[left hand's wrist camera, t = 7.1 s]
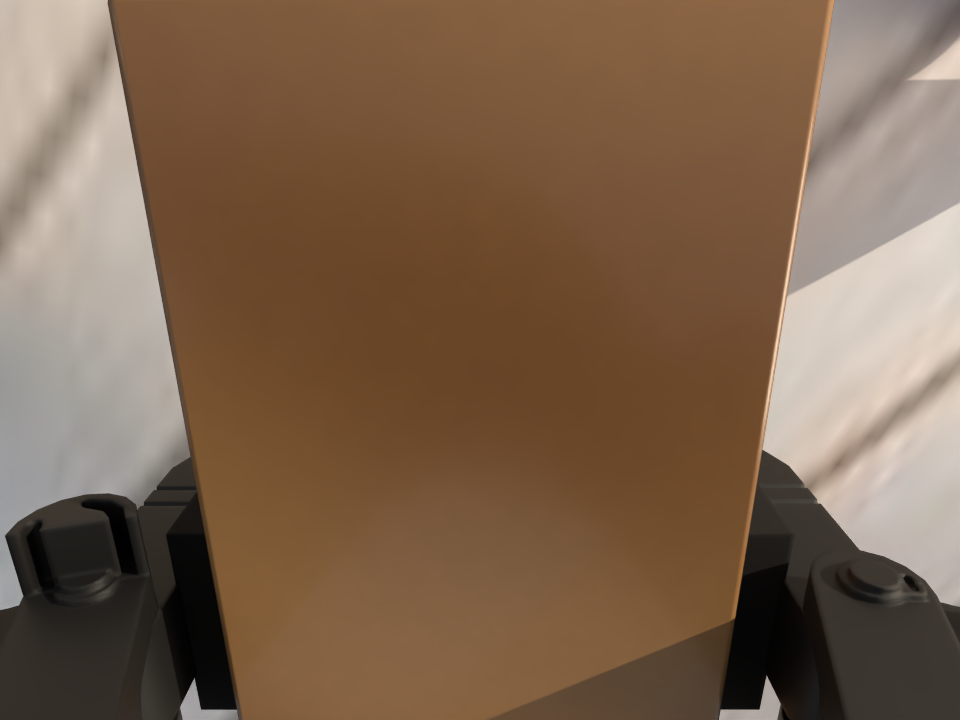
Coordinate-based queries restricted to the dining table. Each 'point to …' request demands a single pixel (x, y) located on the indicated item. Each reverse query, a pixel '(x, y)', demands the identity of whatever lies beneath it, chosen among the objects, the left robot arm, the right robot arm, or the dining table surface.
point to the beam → (474, 335)
